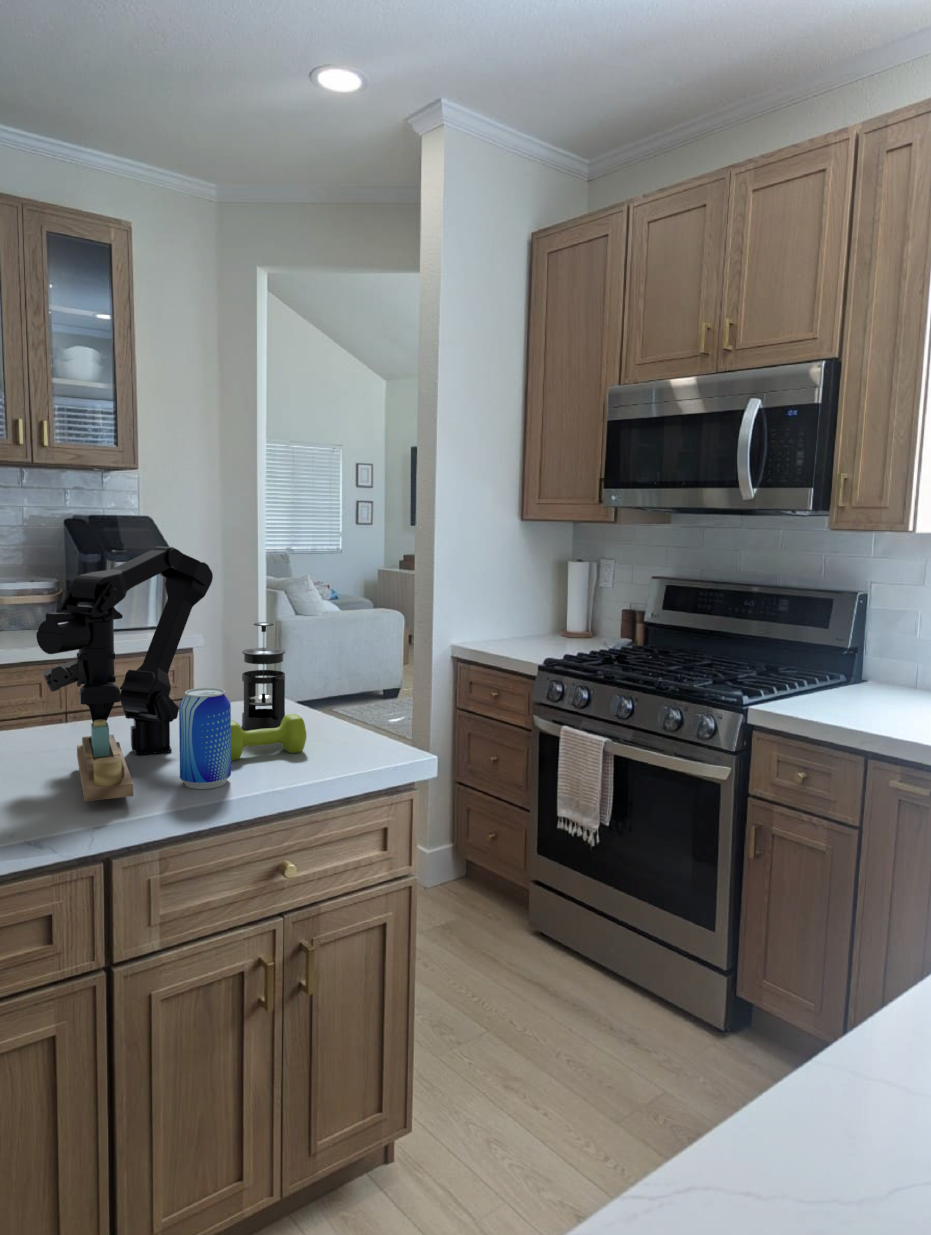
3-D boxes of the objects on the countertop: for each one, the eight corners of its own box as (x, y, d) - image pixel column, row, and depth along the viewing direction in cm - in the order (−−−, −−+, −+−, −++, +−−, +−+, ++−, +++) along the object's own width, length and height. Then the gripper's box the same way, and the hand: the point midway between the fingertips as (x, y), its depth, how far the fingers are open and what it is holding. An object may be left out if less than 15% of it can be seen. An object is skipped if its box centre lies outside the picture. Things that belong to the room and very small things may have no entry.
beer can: (203, 793, 144) (202, 699, 142) (169, 784, 149) (168, 692, 147) (241, 781, 151) (241, 691, 149) (207, 772, 156) (207, 684, 154)
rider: (107, 749, 154) (107, 717, 153) (109, 755, 150) (108, 722, 149) (91, 751, 152) (91, 718, 152) (93, 757, 149) (92, 724, 148)
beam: (119, 763, 159) (118, 723, 159) (133, 808, 136) (132, 761, 135) (77, 767, 156) (76, 726, 155) (84, 813, 133) (83, 766, 132)
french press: (230, 727, 188) (230, 621, 185) (267, 720, 195) (267, 618, 192) (262, 737, 180) (262, 627, 177) (299, 730, 187) (300, 624, 184)
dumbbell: (224, 765, 161) (224, 727, 160) (213, 754, 167) (213, 717, 167) (309, 755, 169) (310, 719, 168) (296, 745, 176) (296, 710, 175)
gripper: (45, 640, 158) (47, 724, 160) (46, 657, 141) (48, 750, 143) (111, 638, 163) (113, 719, 165) (119, 654, 146) (121, 744, 148)
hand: (98, 732), depth 155 cm, fingers closed
